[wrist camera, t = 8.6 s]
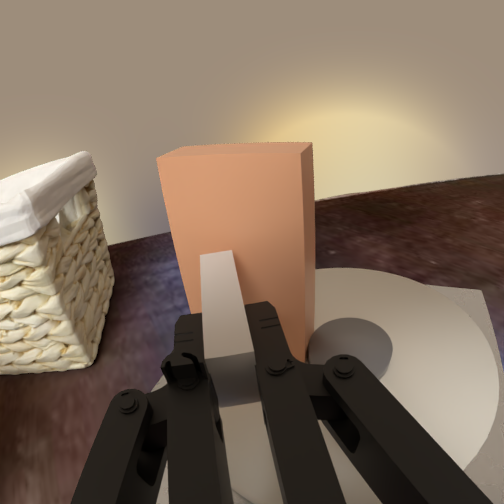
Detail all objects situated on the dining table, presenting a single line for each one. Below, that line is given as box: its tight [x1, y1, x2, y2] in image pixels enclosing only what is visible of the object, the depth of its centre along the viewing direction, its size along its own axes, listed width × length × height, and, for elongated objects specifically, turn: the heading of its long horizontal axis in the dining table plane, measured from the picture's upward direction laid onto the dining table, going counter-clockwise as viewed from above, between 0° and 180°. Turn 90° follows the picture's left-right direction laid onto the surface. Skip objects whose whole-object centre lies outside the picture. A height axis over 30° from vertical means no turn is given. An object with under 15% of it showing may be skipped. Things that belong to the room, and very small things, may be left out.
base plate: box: [151, 285, 504, 504], centre depth 19 cm, size 24×24×1 cm
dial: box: [156, 142, 499, 504], centre depth 16 cm, size 20×20×14 cm
